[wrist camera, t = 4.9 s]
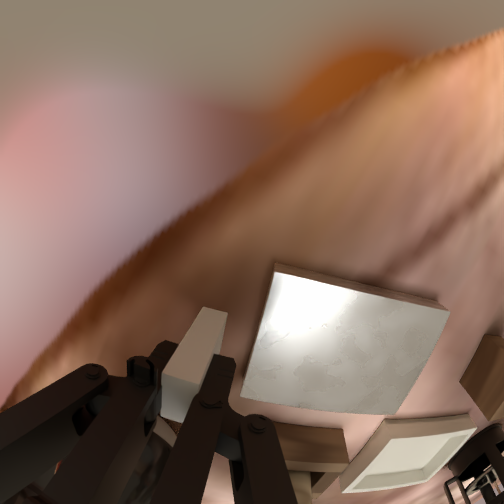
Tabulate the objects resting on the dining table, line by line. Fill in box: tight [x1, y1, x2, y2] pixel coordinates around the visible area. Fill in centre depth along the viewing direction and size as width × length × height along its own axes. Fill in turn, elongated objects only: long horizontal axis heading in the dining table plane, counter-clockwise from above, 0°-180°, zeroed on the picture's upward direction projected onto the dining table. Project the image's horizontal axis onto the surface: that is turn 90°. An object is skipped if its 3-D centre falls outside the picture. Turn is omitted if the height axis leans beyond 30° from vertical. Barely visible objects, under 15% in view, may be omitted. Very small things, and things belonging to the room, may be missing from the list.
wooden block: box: [460, 335, 504, 421], centre depth 14 cm, size 3×5×6 cm, turn 168°
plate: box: [240, 262, 450, 415], centre depth 16 cm, size 12×9×2 cm
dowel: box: [288, 470, 312, 504], centre depth 14 cm, size 3×3×12 cm
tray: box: [339, 414, 477, 493], centre depth 18 cm, size 12×10×2 cm
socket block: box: [273, 422, 350, 499], centre depth 18 cm, size 7×7×4 cm
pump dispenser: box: [55, 415, 177, 504], centre depth 14 cm, size 10×10×15 cm
